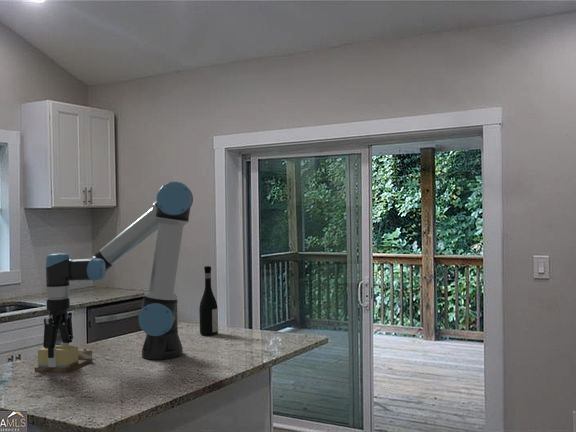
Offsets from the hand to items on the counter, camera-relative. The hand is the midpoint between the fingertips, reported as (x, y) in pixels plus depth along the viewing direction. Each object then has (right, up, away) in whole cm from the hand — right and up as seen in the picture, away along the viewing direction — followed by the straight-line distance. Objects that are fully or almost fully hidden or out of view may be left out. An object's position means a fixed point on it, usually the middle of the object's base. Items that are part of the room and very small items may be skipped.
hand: (59, 364), depth 204 cm
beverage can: (-8, -2, +18) cm, 20 cm away
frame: (0, 0, 0) cm, 0 cm away
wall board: (+1, -1, +3) cm, 3 cm away
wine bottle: (+45, -1, +55) cm, 71 cm away
